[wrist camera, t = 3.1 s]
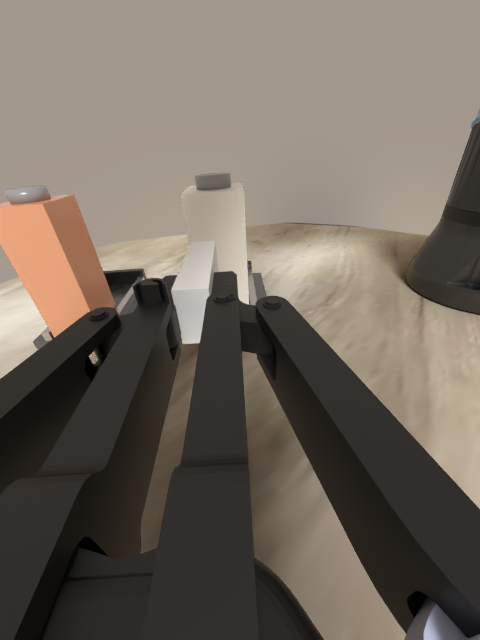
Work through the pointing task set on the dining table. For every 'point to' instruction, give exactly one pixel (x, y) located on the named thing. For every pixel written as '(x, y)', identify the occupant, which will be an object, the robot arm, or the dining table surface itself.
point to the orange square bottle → (53, 255)
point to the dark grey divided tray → (126, 299)
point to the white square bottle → (219, 223)
